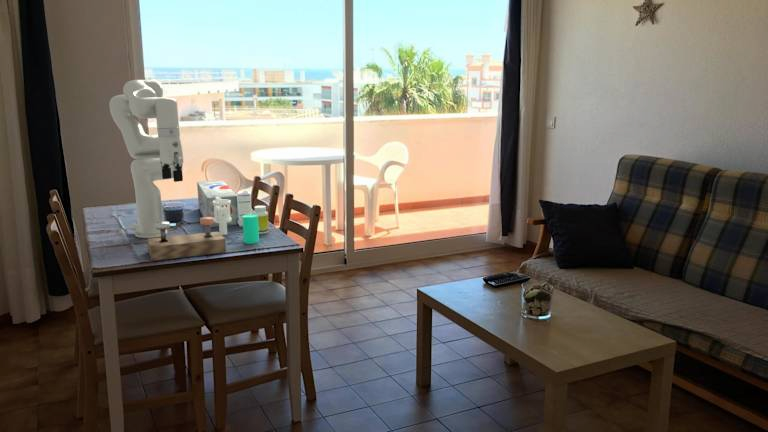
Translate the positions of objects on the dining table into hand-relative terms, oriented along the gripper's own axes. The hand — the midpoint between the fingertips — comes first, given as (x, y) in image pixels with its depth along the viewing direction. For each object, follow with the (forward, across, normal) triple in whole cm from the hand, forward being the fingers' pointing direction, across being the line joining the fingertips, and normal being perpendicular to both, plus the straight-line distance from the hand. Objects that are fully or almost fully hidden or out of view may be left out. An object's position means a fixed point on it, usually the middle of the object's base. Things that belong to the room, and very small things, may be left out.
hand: (172, 179), depth 234 cm
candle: (+27, -7, -27) cm, 39 cm away
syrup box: (+26, +19, -39) cm, 51 cm away
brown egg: (+22, -6, -9) cm, 25 cm away
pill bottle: (+27, +3, -37) cm, 46 cm away
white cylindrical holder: (+26, +11, -24) cm, 38 cm away
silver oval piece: (+22, -2, +6) cm, 23 cm away
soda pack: (+26, +42, -38) cm, 62 cm away
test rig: (+27, -4, -2) cm, 27 cm away
